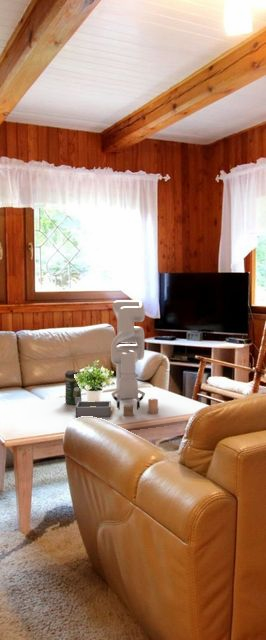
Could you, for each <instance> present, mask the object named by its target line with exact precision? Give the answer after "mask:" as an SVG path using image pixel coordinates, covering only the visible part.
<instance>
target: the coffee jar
mask: <svg viewBox="0 0 266 640" xmlns="http://www.w3.org/2000/svg"><path fill="white" fill-rule="evenodd" d="M77 373H80V372H78V371H76V370H72V369H71V370H67V371H66V372H65V374H64V375H65V377H64V378H65V380H64V381H65V403H67V404H68V405H70V406H72V405H74V406H76V405H77V403H78V401H82V388H81V389H80V388H79V386H78V384H77V382H76V380H75V378H74V374H77Z"/></svg>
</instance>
